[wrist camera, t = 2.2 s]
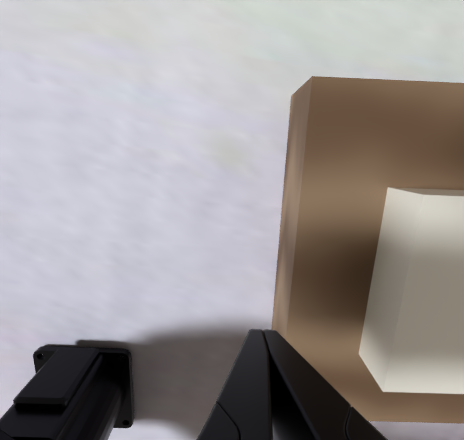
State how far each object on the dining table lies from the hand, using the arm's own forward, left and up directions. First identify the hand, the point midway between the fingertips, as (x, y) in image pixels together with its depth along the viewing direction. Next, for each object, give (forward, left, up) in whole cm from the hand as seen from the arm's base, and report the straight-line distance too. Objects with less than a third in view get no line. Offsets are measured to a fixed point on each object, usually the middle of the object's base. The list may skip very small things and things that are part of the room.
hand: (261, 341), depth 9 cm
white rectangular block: (0, -9, -4) cm, 10 cm away
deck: (0, -9, -9) cm, 13 cm away
